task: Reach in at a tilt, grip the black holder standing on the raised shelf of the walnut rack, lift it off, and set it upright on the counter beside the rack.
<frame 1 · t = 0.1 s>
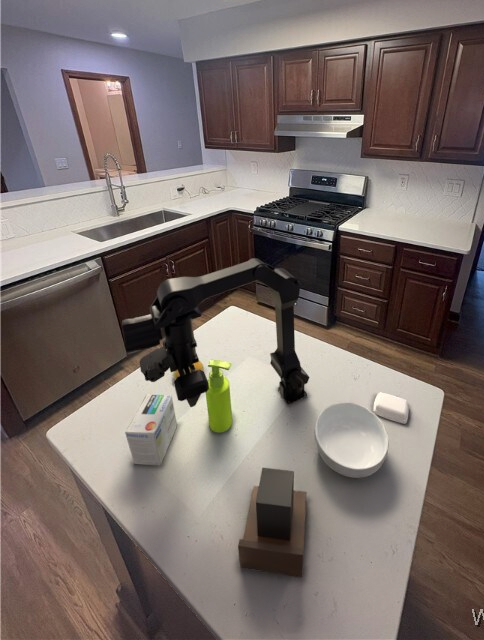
hand: (188, 391, 73), 15 cm above the kitchen island, tool pointing down, fingers open, 9 cm apart
soap: (390, 410, 86), on the kitchen island
cereal bowl: (348, 452, 75), on the kitchen island
soap dispenser: (222, 423, 82), on the kitchen island
light bulb box: (157, 444, 76), on the kitchen island
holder: (276, 519, 59), point 3 cm above the kitchen island, touching rack
rack: (276, 528, 60), on the kitchen island
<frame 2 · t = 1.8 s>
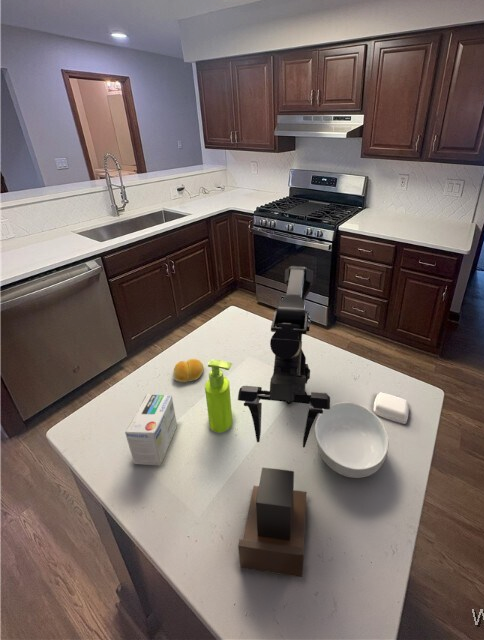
hand: (280, 444, 62), 13 cm above the kitchen island, tool tilted 45°, fingers open, 9 cm apart
nothing on the kitchen island moved.
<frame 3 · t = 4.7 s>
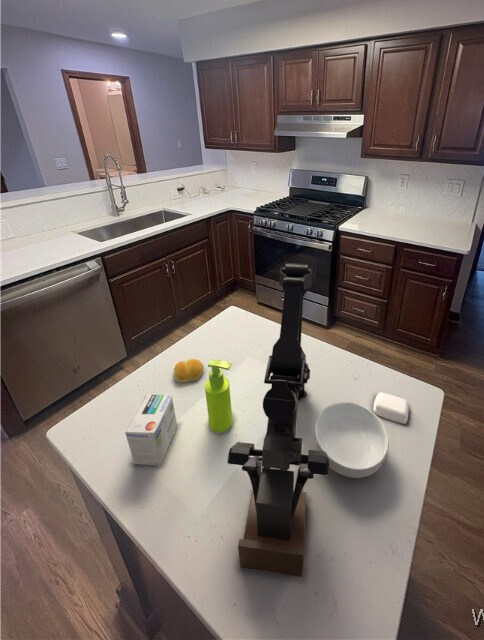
hand: (274, 513, 56), 8 cm above the kitchen island, tool tilted 45°, fingers closed on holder, 6 cm apart
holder: (276, 519, 59), point 3 cm above the kitchen island, touching gripper, rack
everything else where it was.
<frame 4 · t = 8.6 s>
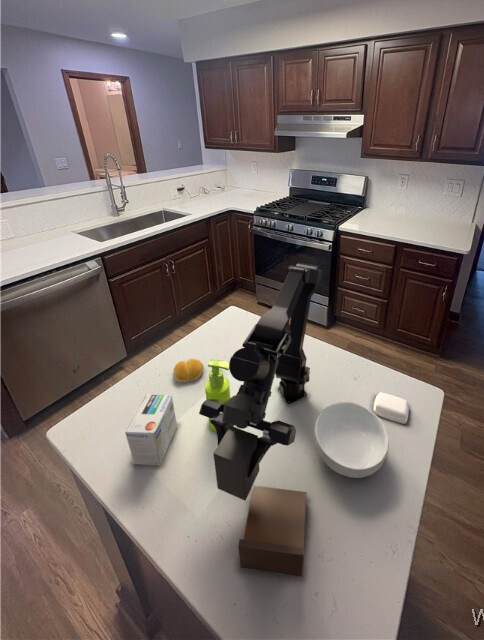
hand: (234, 470, 58), 13 cm above the kitchen island, tool tilted 45°, fingers closed on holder, 6 cm apart
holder: (239, 479, 61), point 8 cm above the kitchen island, touching gripper
everything else where it was.
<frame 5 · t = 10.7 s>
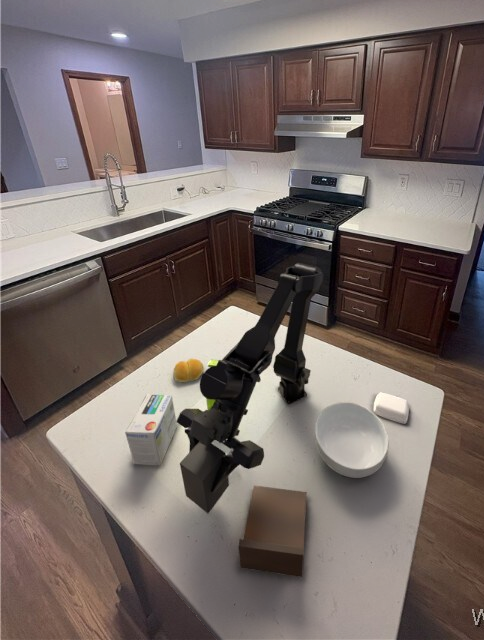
hand: (200, 482, 60), 9 cm above the kitchen island, tool tilted 45°, fingers closed on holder, 6 cm apart
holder: (207, 490, 63), point 4 cm above the kitchen island, touching gripper
everything else where it was.
when the fingers open (5 cm above the kitchen island, at t = 12.5 s): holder stays where it is, on the kitchen island.
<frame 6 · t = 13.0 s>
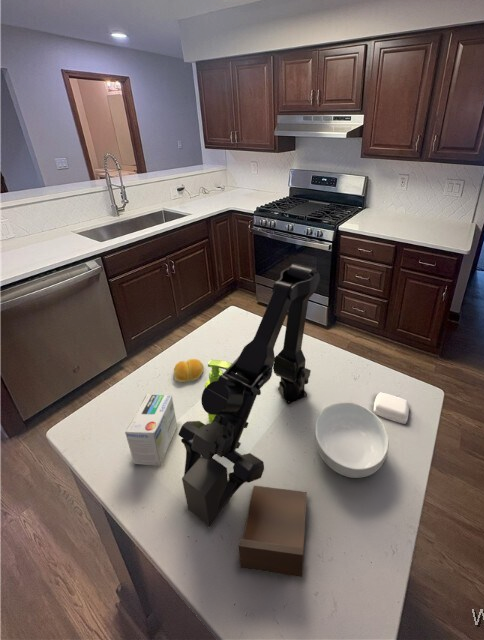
hand: (201, 494, 61), 5 cm above the kitchen island, tool tilted 45°, fingers open, 9 cm apart
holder: (209, 504, 64), on the kitchen island
everything else where it was.
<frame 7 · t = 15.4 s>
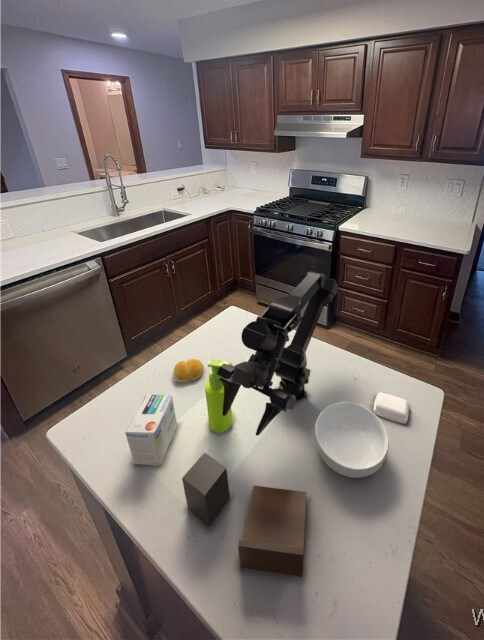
hand: (240, 425, 68), 12 cm above the kitchen island, tool tilted 45°, fingers open, 9 cm apart
nothing on the kitchen island moved.
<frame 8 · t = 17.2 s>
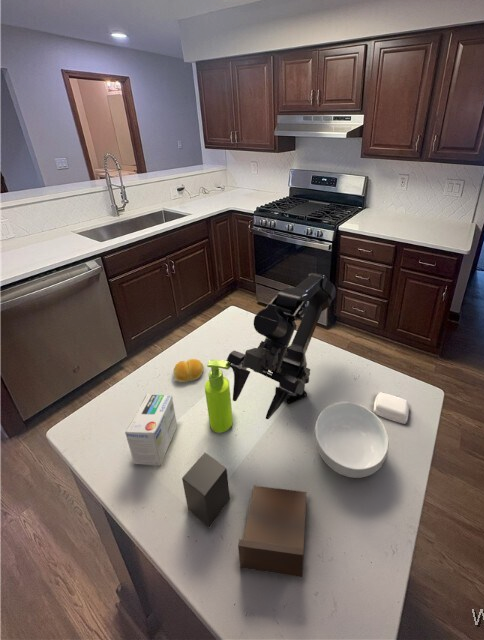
hand: (250, 409, 69), 14 cm above the kitchen island, tool tilted 45°, fingers open, 9 cm apart
soap dispenser: (223, 423, 82), on the kitchen island, touching gripper
everything else where it was.
at the end: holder inside the target area (0.1 cm from its centre), on the kitchen island; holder tilted 0°; the gripper is holding nothing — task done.
